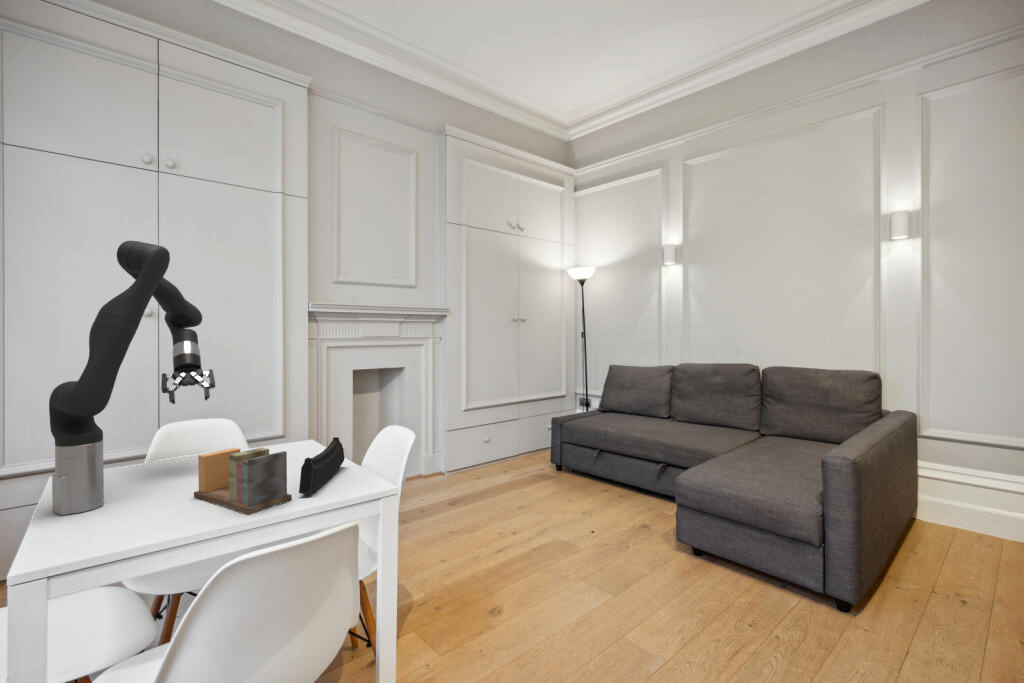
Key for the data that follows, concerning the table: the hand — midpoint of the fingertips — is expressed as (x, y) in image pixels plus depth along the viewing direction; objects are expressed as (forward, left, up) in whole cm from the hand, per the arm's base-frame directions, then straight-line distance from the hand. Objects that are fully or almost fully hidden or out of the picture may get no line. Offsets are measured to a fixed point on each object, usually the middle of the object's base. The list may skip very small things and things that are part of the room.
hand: (190, 401), depth 147 cm
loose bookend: (-3, -23, -23) cm, 33 cm away
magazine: (+19, -40, -25) cm, 51 cm away
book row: (-3, -34, -24) cm, 42 cm away
